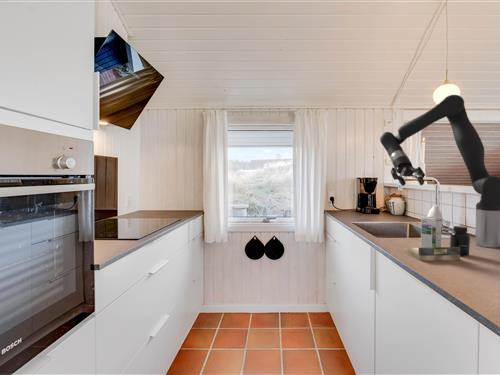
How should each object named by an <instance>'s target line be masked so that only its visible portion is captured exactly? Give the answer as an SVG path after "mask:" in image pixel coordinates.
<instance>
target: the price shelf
mask: <svg viewBox="0 0 500 375" xmlns="http://www.w3.org/2000/svg"><path fill="white" fill-rule="evenodd" d="M403 253H404V254H406V255H408V256H411V257H412V258H414V259H416V260H418V261H422V262H423V261H425V262H426V261H427V262H428V261H431V262H432V261H460V260H461V256H460V248H459V247H450V246H447V247H445V246H443V247H442V246H441V247H428V248H421V247H403Z"/></svg>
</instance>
